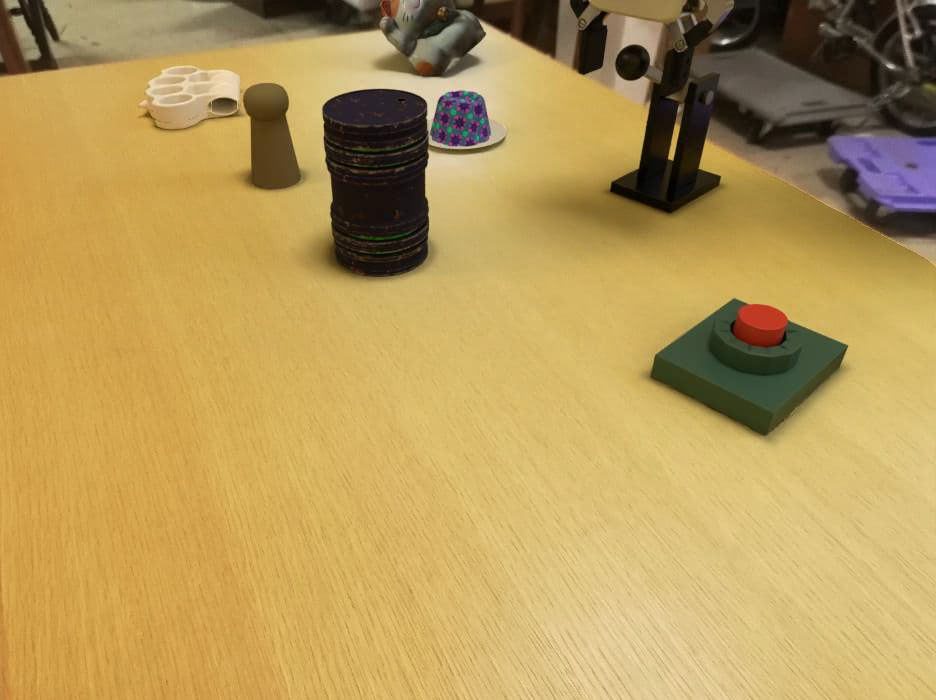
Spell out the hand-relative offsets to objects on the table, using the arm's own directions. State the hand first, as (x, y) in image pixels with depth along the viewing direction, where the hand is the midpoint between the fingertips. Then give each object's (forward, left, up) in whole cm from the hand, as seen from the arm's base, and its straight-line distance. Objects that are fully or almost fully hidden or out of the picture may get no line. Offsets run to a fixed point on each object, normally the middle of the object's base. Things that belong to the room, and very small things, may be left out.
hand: (629, 81), depth 76 cm
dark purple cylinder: (+22, -12, -15) cm, 29 cm away
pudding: (-6, -28, -15) cm, 32 cm away
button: (+14, +24, -11) cm, 30 cm away
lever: (-5, 0, -2) cm, 5 cm away
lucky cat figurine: (-25, -53, -15) cm, 60 cm away
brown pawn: (+19, -35, -15) cm, 43 cm away
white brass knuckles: (+13, -65, -15) cm, 68 cm away
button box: (+14, +24, -15) cm, 31 cm away
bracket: (-11, 0, -15) cm, 18 cm away
